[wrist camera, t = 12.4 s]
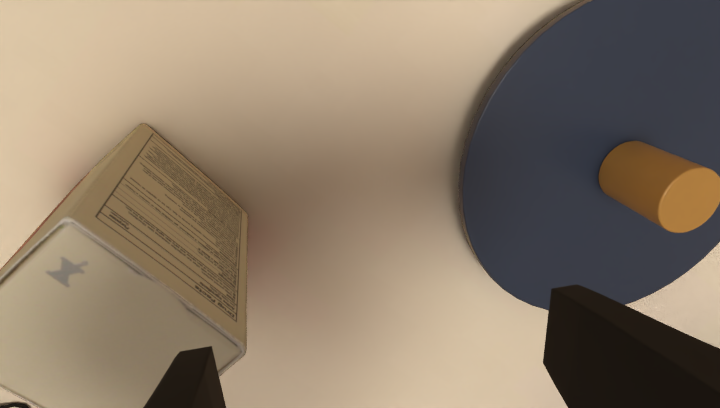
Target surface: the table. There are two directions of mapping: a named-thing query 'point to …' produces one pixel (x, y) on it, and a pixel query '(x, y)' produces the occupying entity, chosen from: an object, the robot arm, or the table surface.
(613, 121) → the tin lid
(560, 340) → the robot arm
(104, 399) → the small box
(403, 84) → the table surface
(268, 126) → the table surface
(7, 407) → the creature
